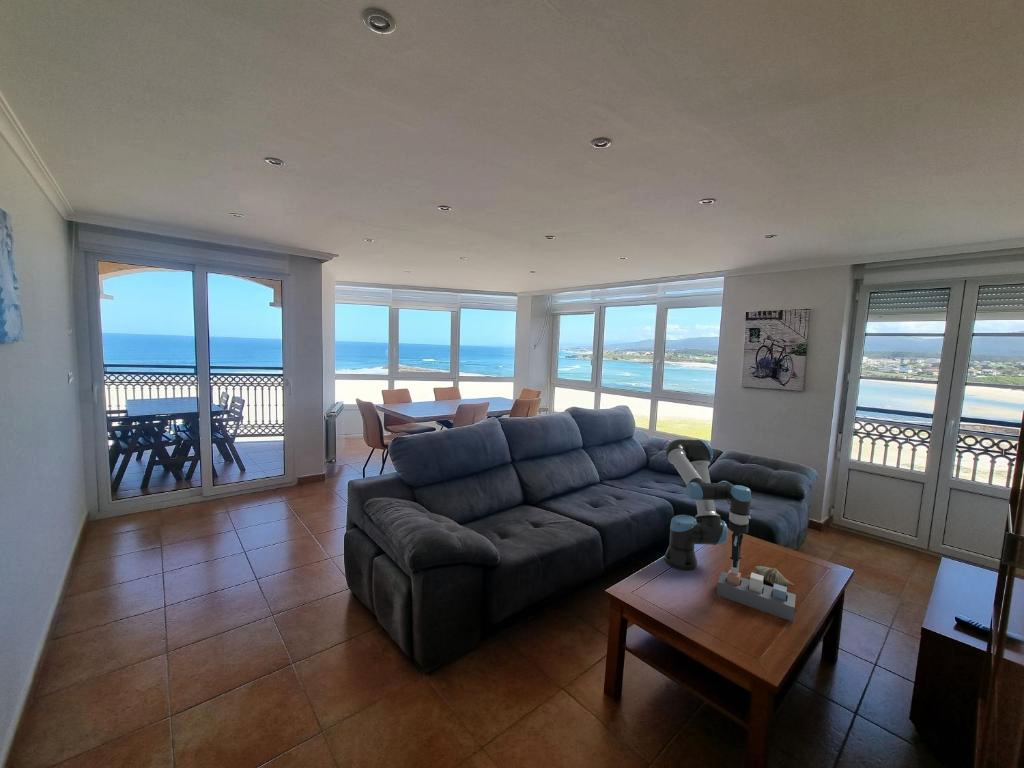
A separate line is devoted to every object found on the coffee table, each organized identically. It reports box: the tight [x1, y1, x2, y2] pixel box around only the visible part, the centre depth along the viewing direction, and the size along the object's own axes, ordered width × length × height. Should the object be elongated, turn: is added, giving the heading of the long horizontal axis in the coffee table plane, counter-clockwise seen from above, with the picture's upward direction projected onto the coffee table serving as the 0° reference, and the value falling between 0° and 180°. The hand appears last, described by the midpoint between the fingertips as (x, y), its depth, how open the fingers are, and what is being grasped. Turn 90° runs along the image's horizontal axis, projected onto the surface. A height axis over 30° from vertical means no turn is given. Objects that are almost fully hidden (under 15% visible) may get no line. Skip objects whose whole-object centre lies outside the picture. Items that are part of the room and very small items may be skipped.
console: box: [716, 571, 796, 622], centre depth 177 cm, size 28×11×6 cm, turn 53°
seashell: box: [755, 565, 795, 587], centre depth 189 cm, size 14×9×10 cm
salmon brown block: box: [727, 568, 742, 586], centre depth 181 cm, size 5×5×7 cm
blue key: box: [772, 583, 788, 601], centre depth 171 cm, size 5×5×7 cm
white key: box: [749, 572, 764, 593], centre depth 176 cm, size 5×5×7 cm
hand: (734, 573), depth 181 cm, fingers closed
